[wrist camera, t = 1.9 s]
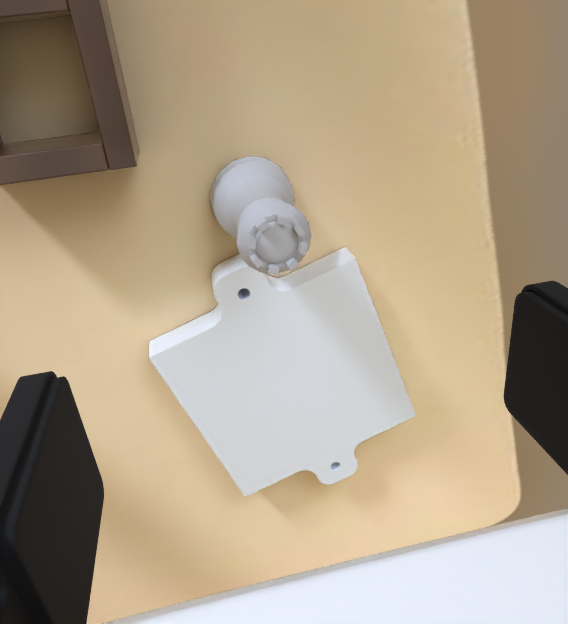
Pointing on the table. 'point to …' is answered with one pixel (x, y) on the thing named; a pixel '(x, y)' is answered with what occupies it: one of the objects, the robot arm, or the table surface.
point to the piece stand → (104, 91)
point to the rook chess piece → (261, 214)
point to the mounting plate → (285, 371)
